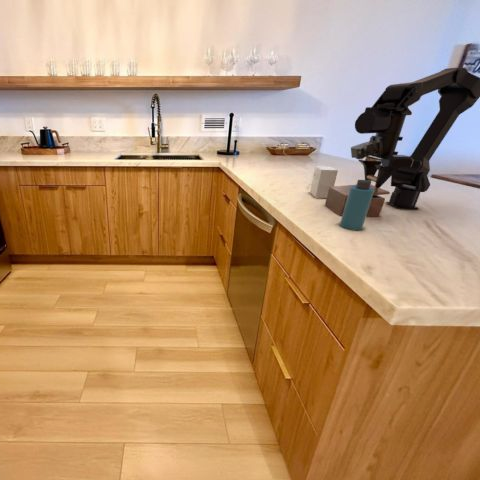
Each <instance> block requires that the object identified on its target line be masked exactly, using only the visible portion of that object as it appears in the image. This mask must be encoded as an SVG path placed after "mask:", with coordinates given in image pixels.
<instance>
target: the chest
mask: <svg viewBox="0 0 480 480" xmlns="http://www.w3.org/2000/svg"><path fill="white" fill-rule="evenodd" d="M347 198H348V197H344V196H342V195H340V194H338V193H336V192H334V191H333V190H331V189H329V191H328V195H327V198H325V203H324V207H327V208H328V209H329V210H330V211H332V212H334V213H336V214H337V215H339V216H340V217H342V215H343V212H344V208H345V205H346V201H347ZM385 200H386V198H385V197H383V196H382V195H373V196H372V199H371V203H370V206H369V209H368V212H367V215H366V217H375V218H376V217H378V218H379V217H380V215H381V212H382V209H383V207H384V203H385Z"/></svg>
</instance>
